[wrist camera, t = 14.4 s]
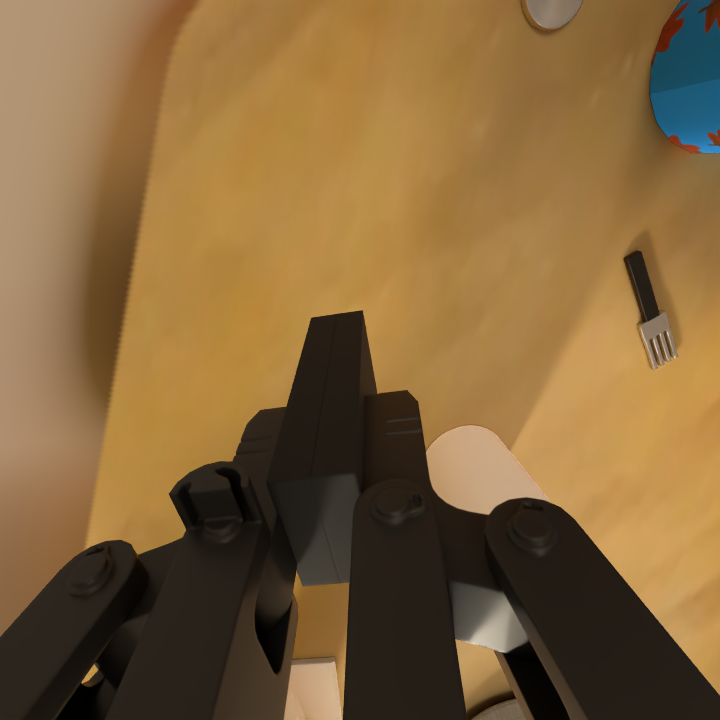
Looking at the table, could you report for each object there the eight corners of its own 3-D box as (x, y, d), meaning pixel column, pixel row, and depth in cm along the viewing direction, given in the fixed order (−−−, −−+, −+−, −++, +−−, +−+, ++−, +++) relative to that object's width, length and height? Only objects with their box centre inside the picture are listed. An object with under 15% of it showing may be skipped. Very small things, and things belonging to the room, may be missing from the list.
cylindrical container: (449, 412, 36) (736, 827, 13) (520, 442, 38) (877, 846, 15) (406, 484, 38) (589, 956, 15) (476, 508, 40) (732, 957, 17)
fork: (616, 262, 33) (620, 263, 33) (643, 245, 33) (648, 247, 33) (650, 368, 37) (655, 370, 37) (675, 354, 37) (679, 356, 37)
